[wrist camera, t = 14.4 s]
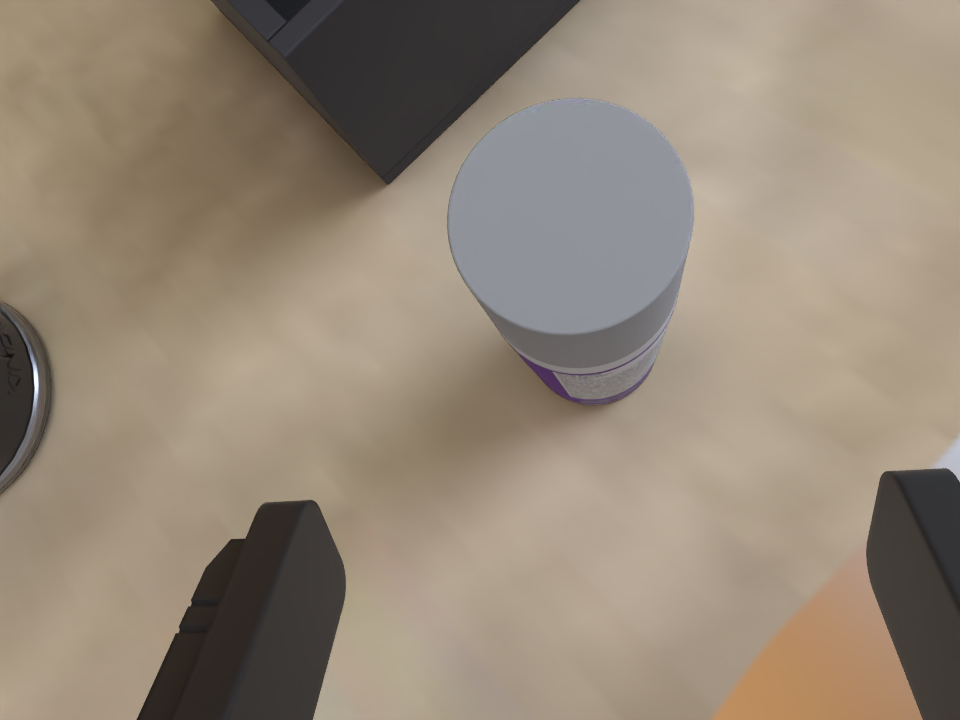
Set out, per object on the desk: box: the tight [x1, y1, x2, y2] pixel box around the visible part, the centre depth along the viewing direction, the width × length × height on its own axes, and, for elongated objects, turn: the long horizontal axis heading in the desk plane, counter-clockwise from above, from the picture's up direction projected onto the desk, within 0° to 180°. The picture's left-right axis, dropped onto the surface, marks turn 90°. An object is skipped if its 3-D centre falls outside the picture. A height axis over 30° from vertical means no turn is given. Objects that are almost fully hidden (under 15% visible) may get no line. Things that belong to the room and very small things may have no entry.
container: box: [447, 98, 694, 405], centre depth 21 cm, size 5×5×15 cm
